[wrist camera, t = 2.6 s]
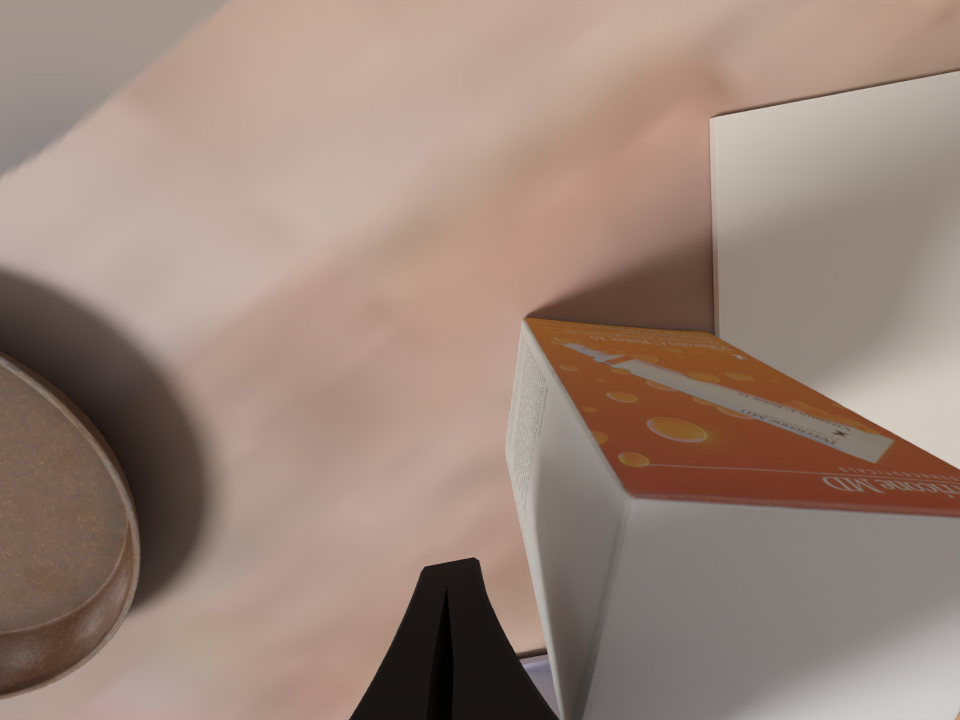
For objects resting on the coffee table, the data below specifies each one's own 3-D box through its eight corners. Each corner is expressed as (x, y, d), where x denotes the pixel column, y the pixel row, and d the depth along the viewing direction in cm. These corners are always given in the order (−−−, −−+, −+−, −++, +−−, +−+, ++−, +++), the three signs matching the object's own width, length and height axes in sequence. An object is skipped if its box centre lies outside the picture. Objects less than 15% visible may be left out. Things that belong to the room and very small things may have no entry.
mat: (976, 506, 25) (985, 511, 24) (720, 555, 25) (724, 561, 24) (1056, 53, 18) (1069, 50, 18) (709, 118, 18) (714, 117, 18)
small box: (707, 328, 21) (1079, 521, 9) (674, 461, 23) (937, 772, 11) (518, 312, 20) (627, 497, 8) (500, 450, 22) (565, 772, 10)
